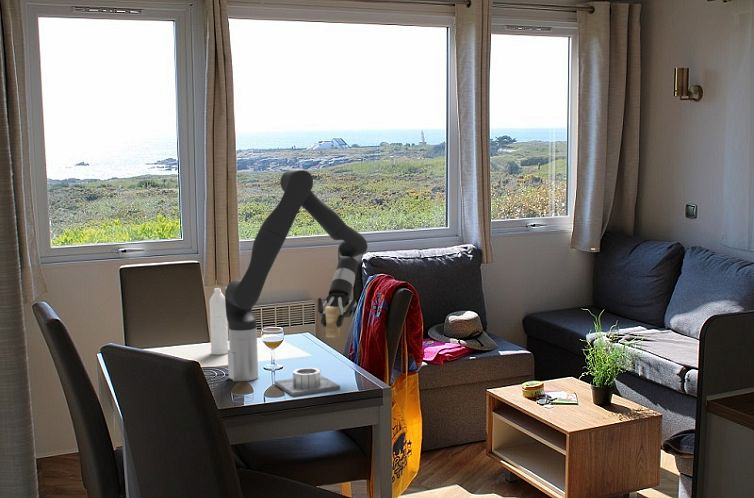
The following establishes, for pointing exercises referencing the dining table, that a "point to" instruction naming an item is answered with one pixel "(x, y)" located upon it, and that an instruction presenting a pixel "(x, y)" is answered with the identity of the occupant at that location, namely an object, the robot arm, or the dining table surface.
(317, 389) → the socket board
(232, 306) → the robot arm
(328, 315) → the plug
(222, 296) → the water bottle
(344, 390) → the dining table surface
